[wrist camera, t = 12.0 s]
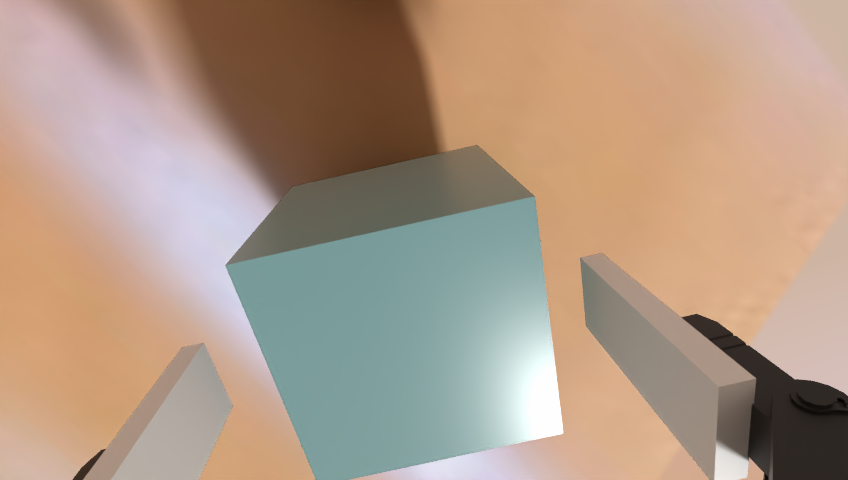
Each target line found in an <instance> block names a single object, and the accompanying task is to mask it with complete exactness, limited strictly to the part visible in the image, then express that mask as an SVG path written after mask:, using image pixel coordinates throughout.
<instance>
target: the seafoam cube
mask: <svg viewBox="0 0 848 480" xmlns="http://www.w3.org/2000/svg"><path fill="white" fill-rule="evenodd" d="M225 266H226V268H227V270H228V273H229V275H230V277H231V280H232V282H233V284H234V287H235V289H236V292H237V294H238V296H239V299H240V301H241V303H242V306H243V308H244V310H245V313H246V315H247V318H248V320H249V322H250V325H251V327H252V329H253V332H254V334H255V337H256V339H257V341H258V344H259V346H260V348H261V351H262V353H263V355H264V358H265V360H266V363H267V365H268V367H269V370H270V372H271V374H272V377H273V379H274V381H275V384H276V386H277V389H278V391H279V393H280V396H281V398H282V400H283V403H284V405H285V408H286V410H287V412H288V415H289V417H290V419H291V422H292V424H293V426H294V429H295V431H296V434H297V436H298V438H299V441H300V443H301V445H302V448H303V450H304V453H305V455H306V457H307V460H308V462H309V464H310V467H311V469H312V471H313V474H314V476H315V479H316V480H349V479H354V478H358V477H363V476H368V475H372V474H377V473H382V472H386V471H391V470H396V469H400V468H405V467H410V466H414V465H419V464H424V463H428V462H433V461H437V460H442V459H447V458H451V457H456V456H461V455H465V454H470V453H475V452H479V451H484V450H489V449H493V448H498V447H502V446H507V445H512V444H516V443H521V442H526V441H530V440H535V439H540V438H544V437H549V436H554V435H558V434H563V427H562V419H561V410H560V402H559V394H558V386H557V377H556V369H555V361H554V352H553V344H552V336H551V327H550V319H549V311H548V302H547V294H546V286H545V277H544V269H543V261H542V252H541V244H540V236H539V228H538V219H537V211H536V203H535V196H534V195H533V194H532V193H530V192H529V191H528V190H527V189H526V188H525V187H524V186H523V185H522V184H520V183H519V182H518V181H517V180H516V179H515V178H514V177H513V176H511V175H510V174H509V173H508V172H507V171H506V170H505V169H504V168H502V167H501V166H500V165H499V164H498V163H497V162H496V161H495V160H493V159H492V158H491V157H490V156H489V155H488V154H487V153H486V152H484V151H483V150H482V149H481V148H480V147H479V146H478V145H475V146H470V147H466V148H461V149H457V150H453V151H448V152H444V153H439V154H435V155H430V156H426V157H421V158H417V159H413V160H408V161H404V162H399V163H395V164H390V165H386V166H381V167H377V168H373V169H368V170H364V171H359V172H355V173H350V174H346V175H341V176H337V177H333V178H328V179H324V180H319V181H315V182H310V183H306V184H301V185H297V186H293V187H291V189H290V190H289V191H288V192H287V193H286V195H285V196H284V197H283V198H282V199H281V200H280V202H279V203H278V204H277V205H276V206H275V207H274V209H273V210H272V211H271V212H270V213H269V215H268V216H267V217H266V218H265V219H264V220H263V222H262V223H261V224H260V225H259V226H258V228H257V229H256V230H255V231H254V232H253V233H252V235H251V236H250V237H249V238H248V239H247V240H246V242H245V243H244V244H243V245H242V246H241V248H240V249H239V250H238V251H237V252H236V253H235V255H234V256H233V257H232V258H231V259H230V260H229V262H228V263H227V264H226V265H225Z"/></svg>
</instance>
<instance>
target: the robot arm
mask: <svg viewBox="0 0 848 480" xmlns="http://www.w3.org/2000/svg"><path fill="white" fill-rule="evenodd" d="M580 261H581V273H582V285H583V297H584V309H585V321H586V327H587V328H588V329H589V330H590V332H591V333H592V334H593V335H594V337H595V338H596V339H597V340H598V341H599V343H600V344H601V345H602V346H603V348H604V349H605V350H606V351H607V353H608V354H609V355H610V356H611V358H612V359H613V360H614V361H615V363H616V364H617V365H618V366H619V368H620V369H621V370H622V371H623V373H624V374H625V375H626V376H627V378H628V379H629V380H630V381H631V383H632V384H633V385H634V386H635V387H636V389H637V390H638V391H639V392H640V394H641V395H642V396H643V397H644V399H645V400H646V401H647V402H648V404H649V405H650V406H651V407H652V409H653V410H654V411H655V412H656V414H657V415H658V416H659V417H660V419H661V420H662V421H663V422H664V424H665V425H666V426H667V427H668V428H669V430H670V431H671V432H672V433H673V435H674V436H675V437H676V438H677V440H678V441H679V442H680V443H681V445H682V446H683V447H684V448H685V450H686V451H687V452H688V453H689V455H690V456H691V457H692V458H693V460H694V461H695V462H696V463H697V465H698V466H699V467H700V468H701V469H702V471H703V472H704V473H705V474H706V476H707V477H708V478H709V479H710V480H738V479H742V478H747V477H748V465H749V457H750V458H751V459H752V460H753V461H754V463H755V464H756V465H757V466H758V467H759V468H760V469H761V470H762V471H763V472H764V479H763V480H848V396H847V395H846V394H845V393H843V392H841V391H839V390H837V389H835V388H833V387H831V386H829V385H825V384H822V383H818V382H815V381H808V380H797V379H796V380H795V379H793V378H792V377H791V376H789V375H788V374H787V373H785V372H784V371H783V370H781V369H780V368H779V367H777V366H776V365H775V364H773V363H772V362H770V361H769V360H768V359H766V358H765V357H763V356H762V355H761V354H760V353H758V352H757V351H756V350H754V349H753V348H752V347H750V346H749V345H748V346H747V345H746V344H745V342H743V341H742V340H741V339H739V338H738V337H737V336H733V333H731V332H730V331H729V330H727V329H726V328H725V327H723V326H722V325H721V324H719V323H718V322H716V321H713V320H711V319H708V318H706V317H703V316H701V315H698V314H694V315H690V316H685V317H680V316H679V315H678V314H676V313H675V312H674V311H673V310H672V309H670V308H669V307H668V306H667V305H665V304H664V303H663V302H662V301H660V300H659V299H658V298H657V297H656V296H654V295H653V294H652V293H651V292H649V291H648V290H647V289H646V288H645V287H643V286H642V285H641V284H640V283H638V282H637V281H636V280H635V279H633V278H632V277H631V276H630V275H629V274H627V273H626V272H625V271H624V270H622V269H621V268H620V267H619V266H618V265H616V264H615V263H614V262H613V261H611V260H610V259H609V258H608V257H606V256H605V255H604V254H603V253H600V254H595V255H591V256H586V257H582V258H580ZM232 407H233V405H232V403H231V401H230V398H229V396H228V394H227V392H226V390H225V388H224V385H223V383H222V381H221V379H220V377H219V375H218V373H217V370H216V368H215V366H214V364H213V362H212V360H211V357H210V355H209V353H208V351H207V349H206V347H205V345H204V343H200V344H196V345H192V346H187V347H183V348H181V349H180V351H179V352H178V353H177V355H176V356H175V357H174V359H173V360H172V361H171V363H170V364H169V365H168V367H167V368H166V369H165V371H164V372H163V373H162V375H161V376H160V377H159V379H158V380H157V381H156V383H155V384H154V385H153V387H152V388H151V389H150V391H149V392H148V393H147V395H146V396H145V397H144V399H143V400H142V401H141V403H140V404H139V405H138V407H137V408H136V409H135V411H134V412H133V413H132V415H131V416H130V417H129V419H128V420H127V421H126V423H125V424H124V425H123V427H122V428H121V430H120V431H119V432H118V434H117V435H116V436H115V438H114V439H113V440H112V442H111V443H110V444H109V446H108V447H107V448H106V449H104V450H101V451H100V452H99V453H98V454H96V455H95V456H94V457H93V458H92V459H91V460H90V461H89V462H87V463H86V464H85V465H84V466H83V467H82V468H81V469H80V471H79V472H78V473H77V474H76V476H75V477H74V478H73V480H199V478H200V476H201V474H202V472H203V470H204V467H205V465H206V463H207V461H208V459H209V457H210V454H211V452H212V450H213V448H214V446H215V444H216V441H217V439H218V437H219V435H220V433H221V430H222V428H223V426H224V424H225V422H226V420H227V417H228V415H229V413H230V411H231V409H232Z"/></svg>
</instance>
